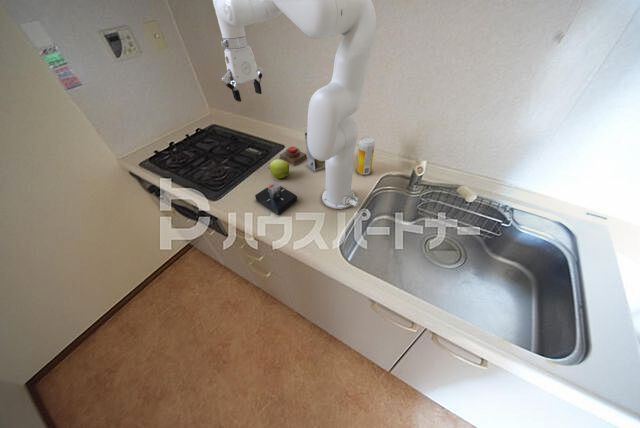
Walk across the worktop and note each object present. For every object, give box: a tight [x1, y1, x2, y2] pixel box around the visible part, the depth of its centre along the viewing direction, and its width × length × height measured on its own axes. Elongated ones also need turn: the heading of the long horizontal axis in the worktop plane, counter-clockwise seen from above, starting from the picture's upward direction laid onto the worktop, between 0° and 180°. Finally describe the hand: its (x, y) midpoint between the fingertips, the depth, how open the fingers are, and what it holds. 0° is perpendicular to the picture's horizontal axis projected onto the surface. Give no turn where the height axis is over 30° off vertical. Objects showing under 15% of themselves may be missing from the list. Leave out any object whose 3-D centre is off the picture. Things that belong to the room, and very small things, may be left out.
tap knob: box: [266, 180, 281, 199], centre depth 89 cm, size 4×4×5 cm
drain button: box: [287, 146, 297, 153], centre depth 111 cm, size 4×4×2 cm
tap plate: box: [254, 185, 298, 216], centre depth 92 cm, size 13×10×3 cm
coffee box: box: [304, 132, 325, 173], centre depth 104 cm, size 9×6×16 cm
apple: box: [268, 158, 290, 179], centre depth 102 cm, size 8×9×8 cm
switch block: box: [279, 147, 307, 166], centre depth 113 cm, size 10×8×4 cm
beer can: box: [356, 136, 376, 176], centre depth 99 cm, size 6×6×15 cm
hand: (248, 97), depth 92 cm, fingers open, 9 cm apart
